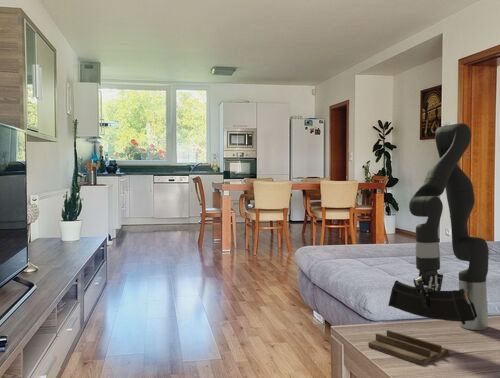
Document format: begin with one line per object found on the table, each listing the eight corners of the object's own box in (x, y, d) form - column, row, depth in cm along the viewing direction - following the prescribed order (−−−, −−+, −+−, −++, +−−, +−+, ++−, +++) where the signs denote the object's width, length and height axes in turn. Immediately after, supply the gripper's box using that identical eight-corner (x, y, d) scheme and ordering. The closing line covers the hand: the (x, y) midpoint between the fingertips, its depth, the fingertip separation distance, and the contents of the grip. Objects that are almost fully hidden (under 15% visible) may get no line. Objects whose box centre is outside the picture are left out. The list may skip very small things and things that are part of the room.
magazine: (381, 283, 168) (457, 268, 145) (386, 282, 170) (462, 267, 147) (395, 331, 164) (475, 324, 141) (400, 329, 166) (480, 321, 143)
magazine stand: (395, 337, 160) (395, 327, 160) (448, 354, 144) (448, 343, 144) (368, 346, 152) (368, 336, 152) (421, 365, 136) (420, 353, 136)
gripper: (430, 251, 162) (432, 300, 162) (405, 256, 154) (407, 307, 154) (450, 253, 155) (451, 304, 156) (424, 259, 147) (427, 312, 148)
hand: (429, 305), depth 155 cm, fingers closed on magazine, 3 cm apart
